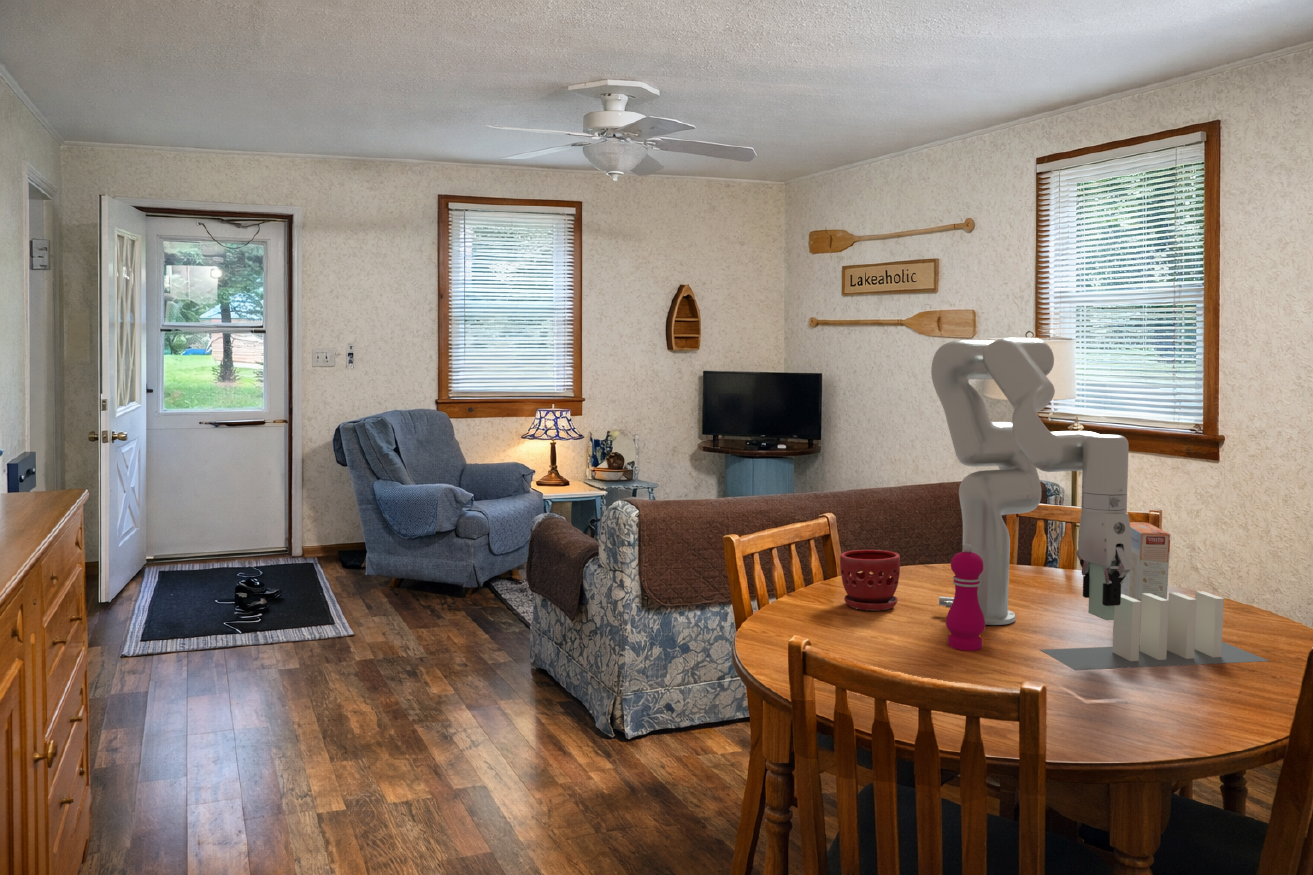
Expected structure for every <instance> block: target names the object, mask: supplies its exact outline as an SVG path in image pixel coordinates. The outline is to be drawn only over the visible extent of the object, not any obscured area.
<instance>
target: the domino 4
mask: <svg viewBox="0 0 1313 875" xmlns="http://www.w3.org/2000/svg"><path fill="white" fill-rule="evenodd" d="M1194 599H1197V603H1196V624H1195V645H1194V649H1195V650H1197V651H1200V652H1202V653H1204V654H1206V655H1209V656H1211V657H1221V649H1222V642H1223V628H1224V627H1223V626H1224V624H1223V623H1224V608H1225V607H1224V604H1225V598H1224V597H1221V596H1218V595H1215V594H1212V593H1209V592H1207V591H1204V590H1203V591H1202V590H1201V591H1198V590H1197V591H1195V597H1194Z"/></svg>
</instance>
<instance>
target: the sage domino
mask: <svg viewBox="0 0 1313 875" xmlns="http://www.w3.org/2000/svg"><path fill="white" fill-rule="evenodd" d="M1111 564H1112V565H1111V566H1116V563H1111ZM1114 571H1116V570H1110V572H1111V575H1112V574H1113V572H1114ZM1089 577H1090V584H1089V598H1088V614H1090V615H1092V616H1095V617H1097V618H1100V619H1102V620H1105V621H1114V611H1115V606H1105V605H1103V604H1102V599H1103V583H1106V582H1105V576H1104V570H1103V567H1102V566H1099V565H1096V564H1093V563H1091V564H1090V574H1089Z"/></svg>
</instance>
